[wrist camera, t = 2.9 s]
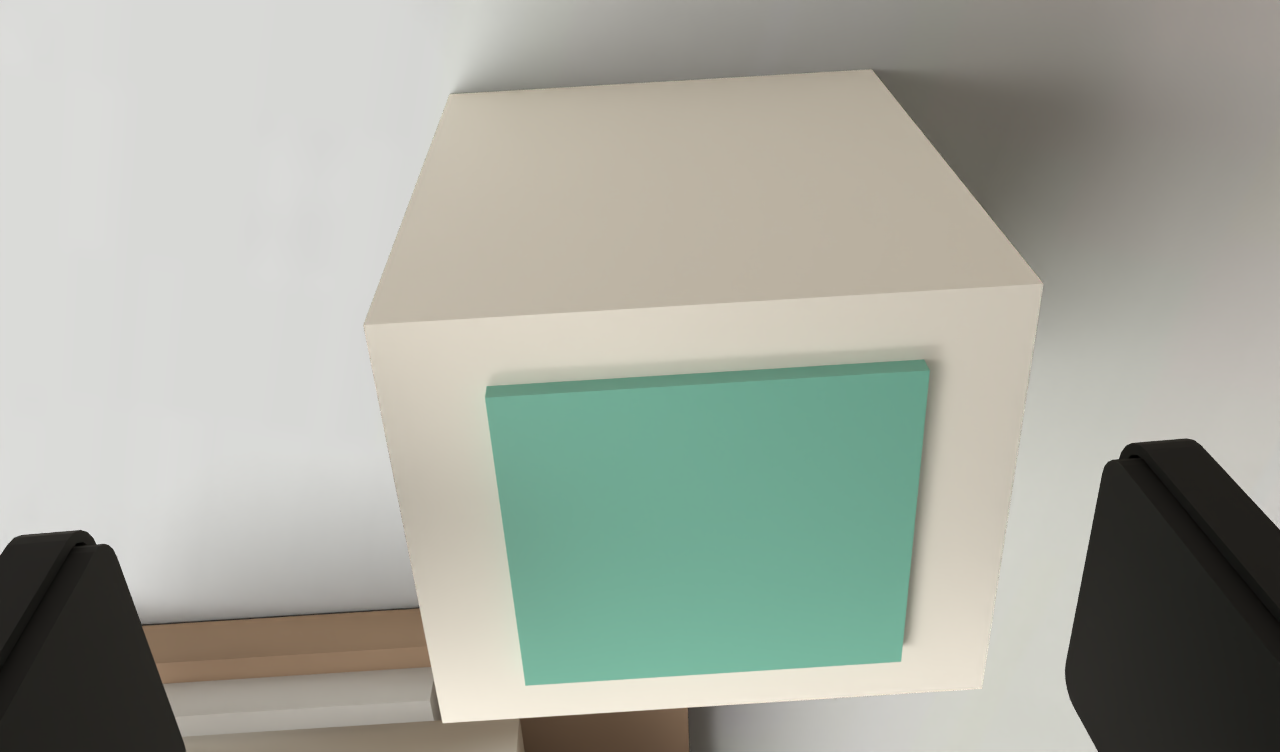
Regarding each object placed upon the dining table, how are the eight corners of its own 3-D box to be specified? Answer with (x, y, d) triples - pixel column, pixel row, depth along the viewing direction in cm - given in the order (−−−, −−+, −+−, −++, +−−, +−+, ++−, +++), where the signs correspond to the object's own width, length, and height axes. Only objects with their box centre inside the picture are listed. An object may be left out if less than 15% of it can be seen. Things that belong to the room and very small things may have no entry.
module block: (449, 93, 16) (359, 335, 10) (871, 68, 16) (1051, 292, 10) (490, 392, 18) (440, 737, 12) (853, 371, 18) (987, 702, 12)
